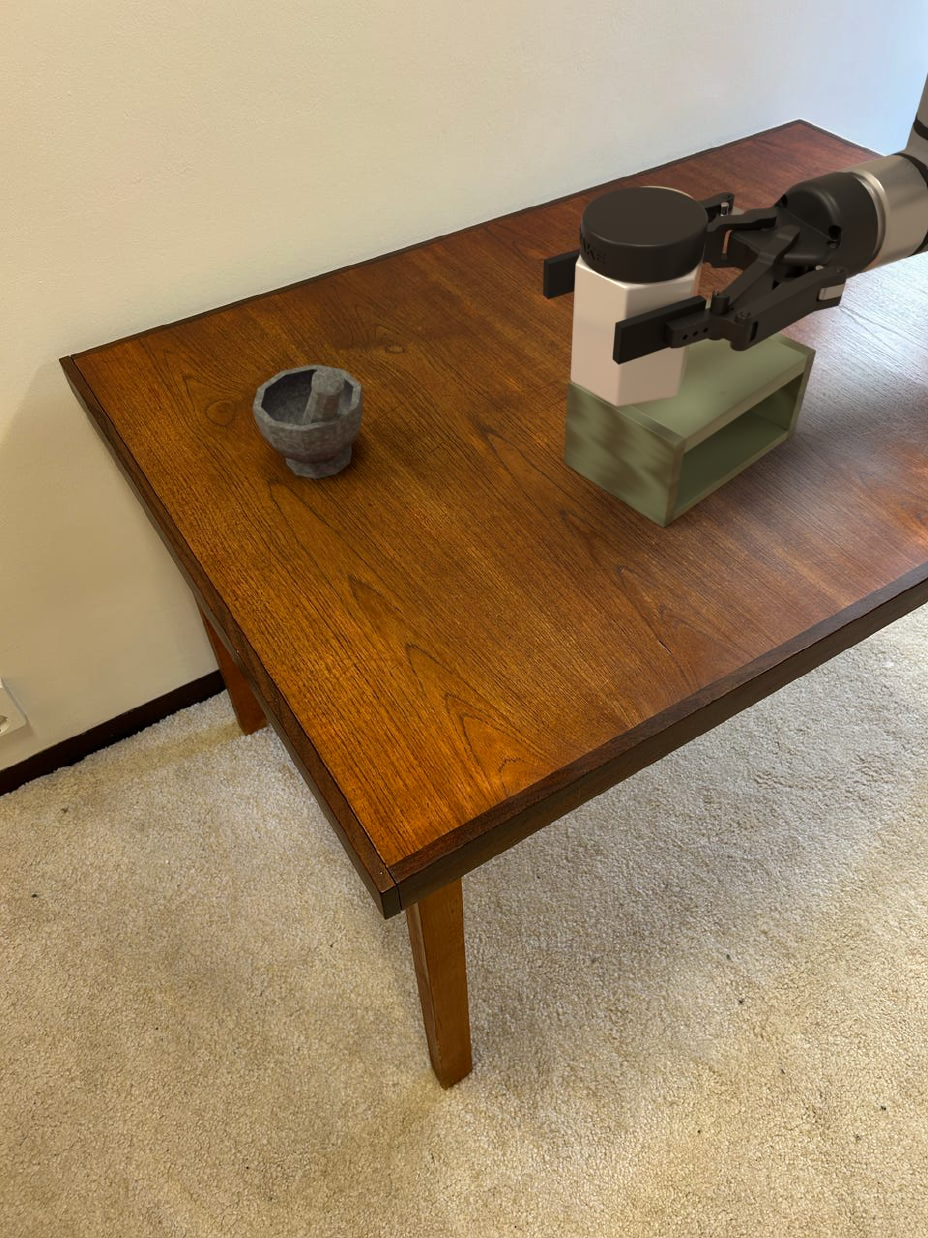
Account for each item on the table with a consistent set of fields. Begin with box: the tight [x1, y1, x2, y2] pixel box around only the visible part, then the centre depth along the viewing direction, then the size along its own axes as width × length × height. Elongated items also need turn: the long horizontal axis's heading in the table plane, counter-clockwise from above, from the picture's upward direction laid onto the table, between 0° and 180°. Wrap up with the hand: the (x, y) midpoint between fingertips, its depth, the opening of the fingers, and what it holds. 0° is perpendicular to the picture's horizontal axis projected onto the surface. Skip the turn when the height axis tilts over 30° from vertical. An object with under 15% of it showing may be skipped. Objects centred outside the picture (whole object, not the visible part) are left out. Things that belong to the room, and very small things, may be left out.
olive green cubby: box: [563, 298, 817, 529], centre depth 86 cm, size 12×18×9 cm, turn 131°
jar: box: [570, 186, 708, 407], centre depth 67 cm, size 9×8×12 cm
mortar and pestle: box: [252, 364, 364, 480], centre depth 86 cm, size 11×9×12 cm
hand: (580, 310), depth 65 cm, fingers closed on jar, 8 cm apart
